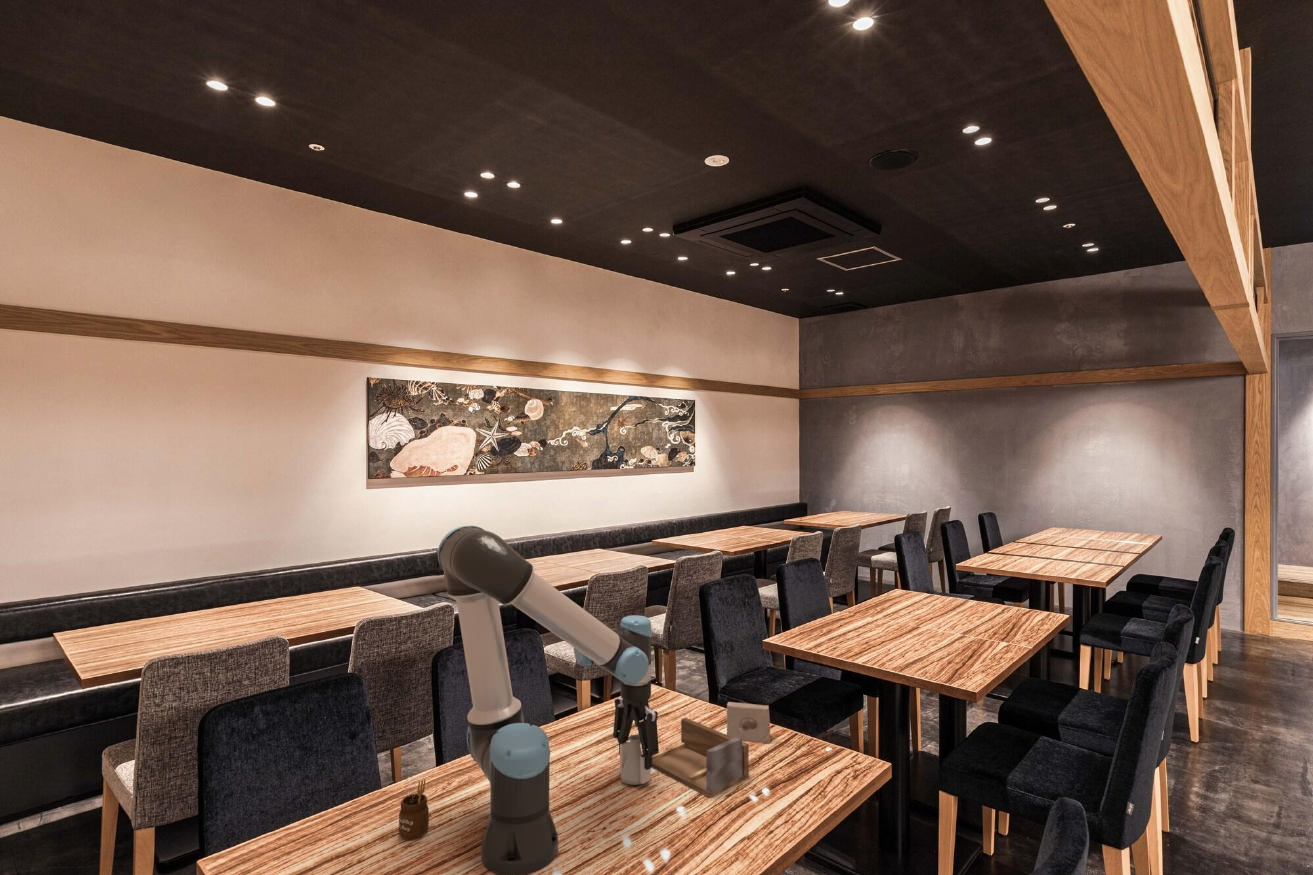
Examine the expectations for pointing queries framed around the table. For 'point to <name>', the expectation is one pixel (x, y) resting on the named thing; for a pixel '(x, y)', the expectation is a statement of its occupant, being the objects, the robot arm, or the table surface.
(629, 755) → the flask
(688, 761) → the brown open box
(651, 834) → the table surface
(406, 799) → the utensil holder
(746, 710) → the fossil
